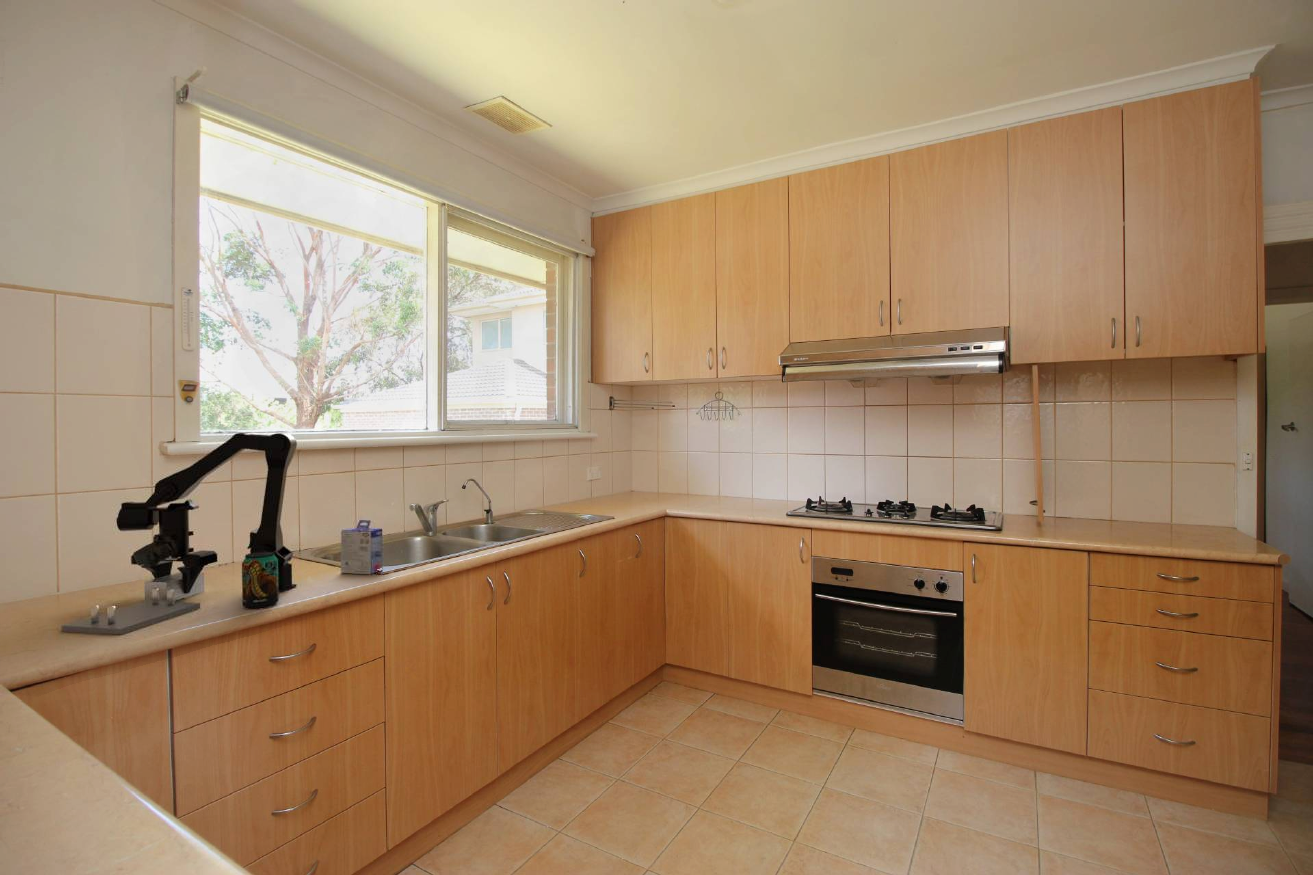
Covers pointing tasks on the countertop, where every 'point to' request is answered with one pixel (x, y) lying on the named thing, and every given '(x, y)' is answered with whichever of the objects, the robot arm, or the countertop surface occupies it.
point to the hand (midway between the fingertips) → (175, 592)
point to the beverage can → (259, 580)
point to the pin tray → (131, 615)
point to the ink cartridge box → (361, 549)
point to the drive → (172, 586)
